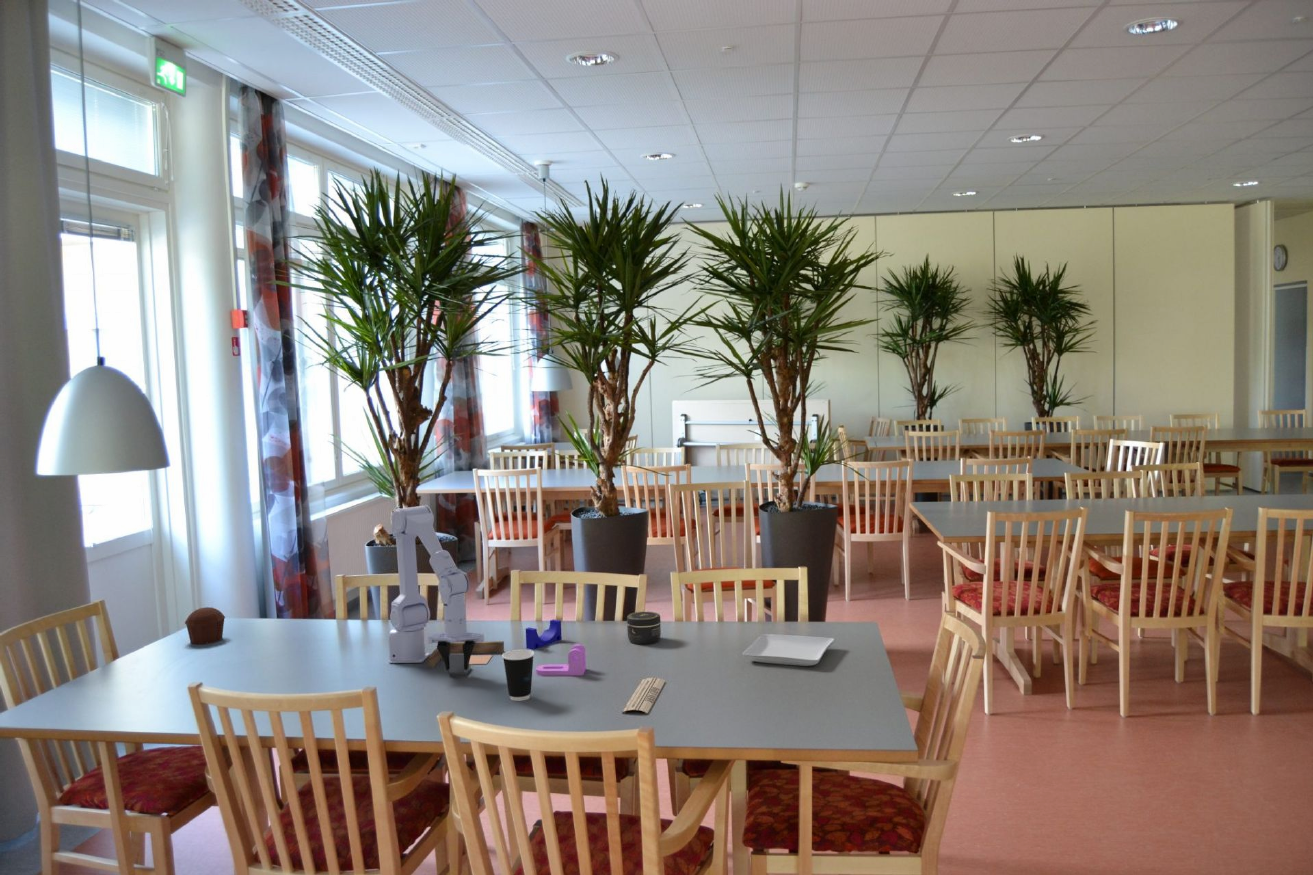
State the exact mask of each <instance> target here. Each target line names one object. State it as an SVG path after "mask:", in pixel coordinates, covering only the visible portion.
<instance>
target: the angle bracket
mask: <svg viewBox="0 0 1313 875" xmlns="http://www.w3.org/2000/svg"><path fill="white" fill-rule="evenodd" d="M471 666H472V665H471V664H469V668H468V669H467V670H464V653H455V654H449V670H448V671H449V677H450V678H465V677H466V676H467V674H468V673H469V672H470V670H471V669H472V667H471Z"/></svg>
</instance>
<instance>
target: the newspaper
mask: <svg viewBox="0 0 1313 875" xmlns="http://www.w3.org/2000/svg"><path fill="white" fill-rule="evenodd" d="M665 683H666V680H664V679H662V678H657V677H648V678H647V677H646V678H643V679H642V680H641V681H640V682H639V684H638V686H637V688H636V689H635V691H634V693H633V694H632V695H631V697H630V699H629V700H628V702H627V703H626V705H625V707H624V708H623V710H622V712H621V714H626V713H627V712H629V711H641V712H643V713H644V715H648V713H649V712H650V711H651V708H652V707H653V705H654V703H655V701H656V700H657V697H658V695H659V694H660V692H661V690H662V689H663V686H664V685H665Z"/></svg>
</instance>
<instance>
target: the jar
mask: <svg viewBox="0 0 1313 875" xmlns="http://www.w3.org/2000/svg"><path fill="white" fill-rule="evenodd" d="M661 623H662V621H661V615H660V613H657V612H654V611H635V612H632V613H629V614H628V615H627V616H626V628H627V638H628V640H629V642H630V643H631V644H634V645H642V646H643V645H645V646H646V645H652V644H656V643H658V642H659V641H660V639H661V634H662V631H661V630H662V629H661V628H662V627H661Z"/></svg>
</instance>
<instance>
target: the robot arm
mask: <svg viewBox="0 0 1313 875" xmlns="http://www.w3.org/2000/svg"><path fill="white" fill-rule="evenodd" d="M434 520H435V516H434V513H433V510H432V509H431V507H430V506H429V505H427V504H422V505H419V506H411V507H410V506H409V507H404V508H399V507H398V508H396V509H395V510H394V511H393V512H392V514H391V530H392V536H393V537H395V541H396V556H397V557H396V558H397V569H398V583H399V584H398V586H399V595H398V596H397V597H396V598H395V599H393V601H391V610H390V611H391V612H390V615H389V619H390V623H391V626H392V627H393V628H392V629H390V631H389V636H388V646H389V648H388V650H389V651H388V652H389V662H388V663H389V664H405V663H406V664H410V663H411V664H413V663H414V664H415V663H418V664H419V663H420V664H421V663H423V662H424V661H425V660H426V659H428V657H429V656H430V655H431V653H430V652H426V644H425V628H426V627H427V624H428V623H429V621H430V618H431V610H430V608H429V604H428V599H427V597H425V596H424V595H422V594H420V593H419V577H418V563H417V550H416V538H417V537H418V538H419V540H420V541H421V543H422V545H423V547H424V548H425V549H426V551H427V552H428V555H430V558H429V562H428V563H429V565H430V566H431V569H432V570H433V572H434V574H435V576H436V578H437V579H438V585H437V588H438V591H439V594H440V600H441V603H442V604H443V620H444V621H443V622H444V624H443V625H444V632H443V633H434V634H429V635H428V636H427V639H428V640H427V641H428V642H427V643H428V644H434V643H436V644H437V646H436V648H437V649H438V651H439V652H440V654H441V656H442V658H441V659H442V660H443V663H444V667H445V670H446V671H450V670H449V654H450V642H465V643H464V644H463V645H462V647H463V653H464V670H467V669H468V668H469V661H470V657H471V656H472V654H473V653H472V650H473V648H474V645H475V643H476V642H479V643H482V642H485V635H484V634H485V633H480V632H479V633H478V632H468V629H467V628H468V627H467V606H466V605H467V604H466V594H467V593H468V592H469V589H470V580H469V577H468V575H467V573H466V572H464V571H462V569H460V568H458V566H457V564H456V563H455V562H454V559H453V557H452V555H451V554H450V552H449V551H448V550H445V549H443V548H442V545H441V543H440V541H439V537H438V535H437V533H436V530H435V528H434Z"/></svg>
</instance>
